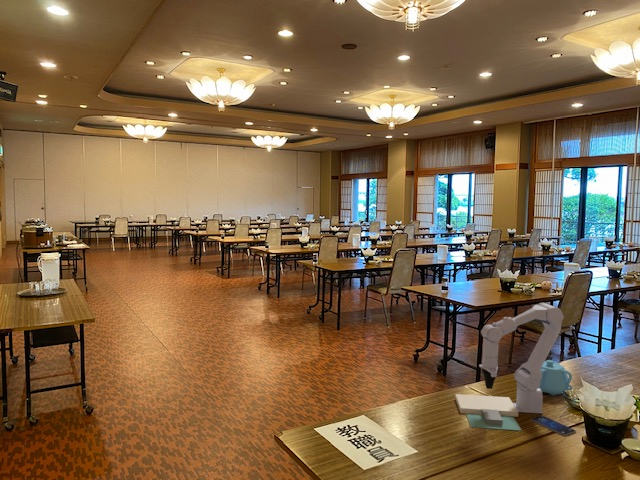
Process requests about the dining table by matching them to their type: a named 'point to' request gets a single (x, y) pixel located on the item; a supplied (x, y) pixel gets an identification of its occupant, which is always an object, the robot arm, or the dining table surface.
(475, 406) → the white flat board
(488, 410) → the grey bevelled tile
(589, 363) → the dining table surface
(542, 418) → the smartphone
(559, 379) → the decorative pot
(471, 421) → the mat
